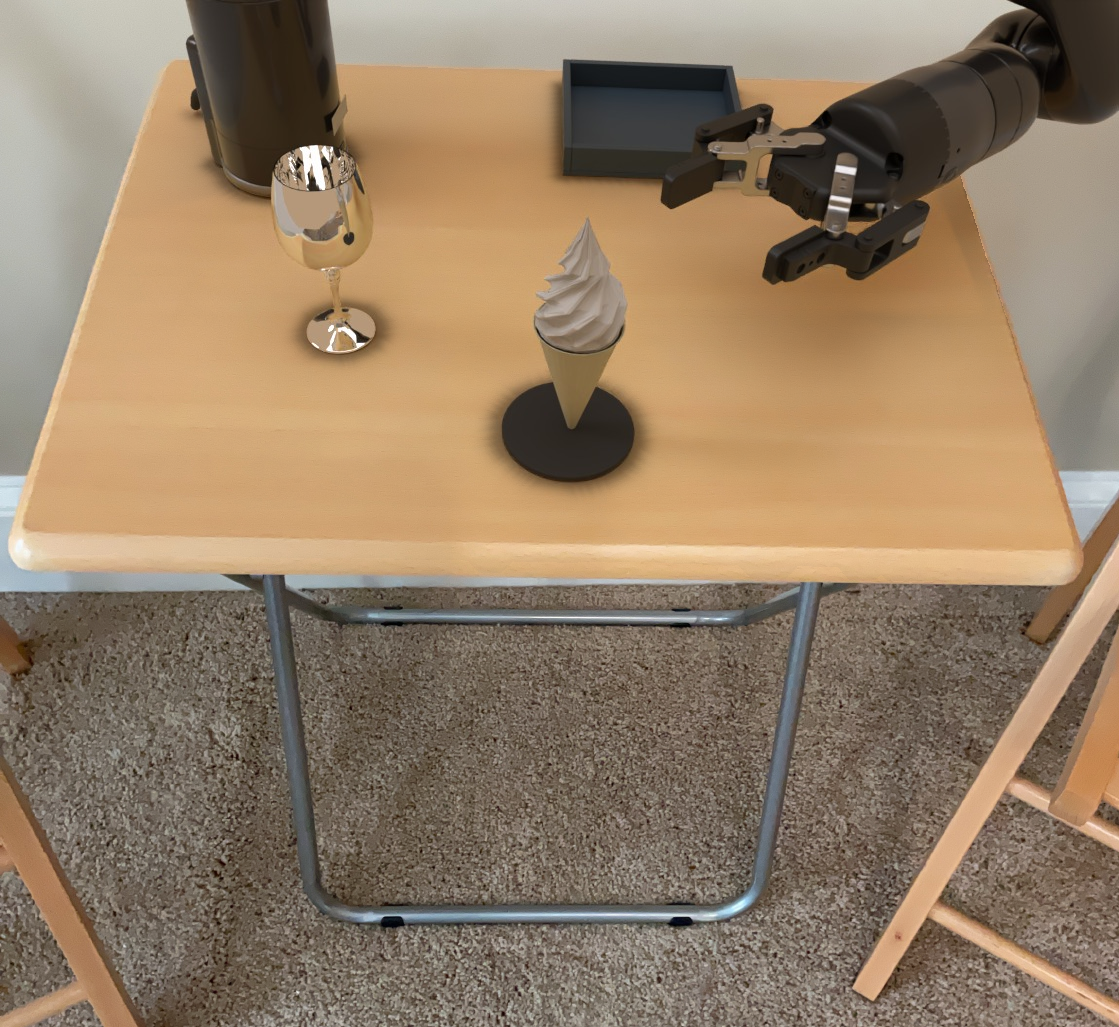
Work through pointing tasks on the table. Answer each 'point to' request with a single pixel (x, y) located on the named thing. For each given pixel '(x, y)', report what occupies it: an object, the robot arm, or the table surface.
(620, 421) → the coaster
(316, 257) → the wineglass
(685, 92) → the tray
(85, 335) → the table surface
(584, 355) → the ice cream cone
